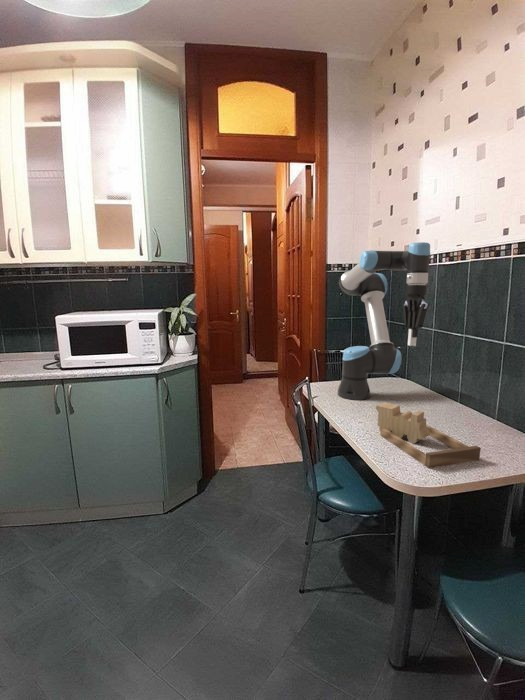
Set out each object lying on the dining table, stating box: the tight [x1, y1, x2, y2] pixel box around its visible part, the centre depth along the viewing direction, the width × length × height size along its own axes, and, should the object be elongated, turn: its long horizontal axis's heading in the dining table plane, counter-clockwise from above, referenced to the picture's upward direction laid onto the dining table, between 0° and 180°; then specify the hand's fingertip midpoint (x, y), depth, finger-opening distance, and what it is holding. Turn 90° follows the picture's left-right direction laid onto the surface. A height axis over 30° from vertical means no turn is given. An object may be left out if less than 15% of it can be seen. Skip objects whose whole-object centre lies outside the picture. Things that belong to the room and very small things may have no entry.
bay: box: [379, 424, 482, 469], centre depth 112 cm, size 24×18×4 cm
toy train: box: [375, 402, 430, 444], centre depth 120 cm, size 6×17×10 cm, turn 44°
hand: (411, 345), depth 138 cm, fingers closed
